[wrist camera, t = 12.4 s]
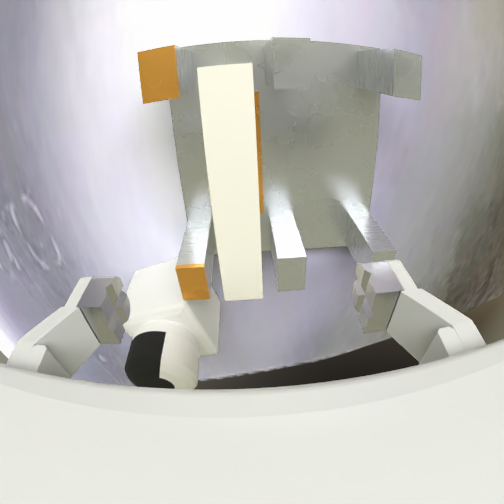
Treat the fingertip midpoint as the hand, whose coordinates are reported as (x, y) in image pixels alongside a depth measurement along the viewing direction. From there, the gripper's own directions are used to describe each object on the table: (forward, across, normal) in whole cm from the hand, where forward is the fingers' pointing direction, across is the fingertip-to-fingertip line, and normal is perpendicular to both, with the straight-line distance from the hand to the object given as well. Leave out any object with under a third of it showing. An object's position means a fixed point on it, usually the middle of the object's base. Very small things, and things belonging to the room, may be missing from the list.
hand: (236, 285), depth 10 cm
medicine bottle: (+16, +8, +14) cm, 23 cm away
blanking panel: (+15, 0, 0) cm, 15 cm away
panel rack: (+16, -3, 0) cm, 16 cm away
